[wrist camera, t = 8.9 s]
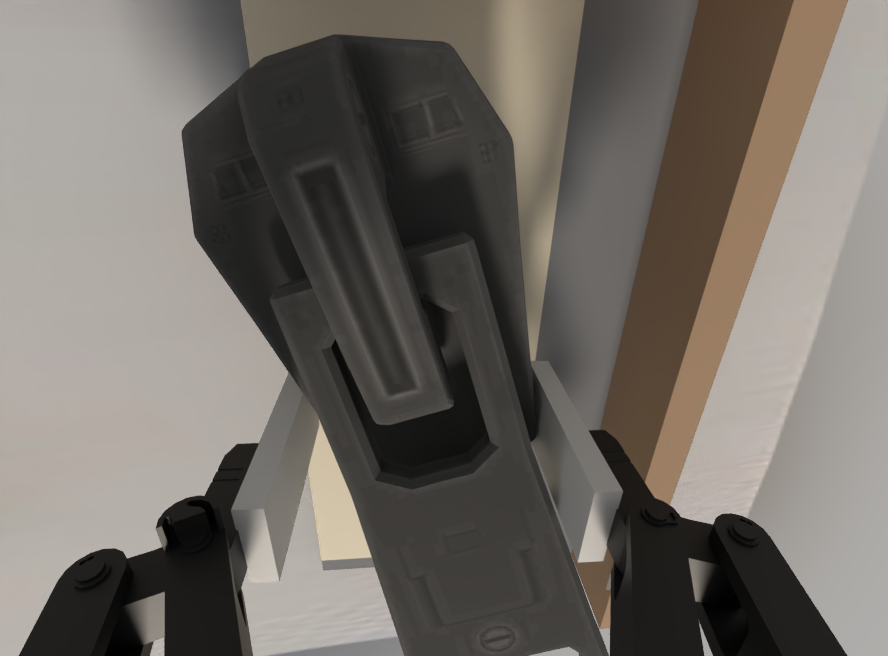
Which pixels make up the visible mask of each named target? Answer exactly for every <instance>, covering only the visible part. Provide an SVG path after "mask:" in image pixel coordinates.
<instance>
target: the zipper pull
mask: <svg viewBox="0 0 888 656" xmlns="http://www.w3.org/2000/svg"><path fill="white" fill-rule="evenodd" d="M182 141H183V149H184V157H185V165H186V173H187V181H188V189H189V197H190V205H191V212H192V220H193V228H194V235H195V238H196V239H197V241H198V243H199V244H200V245H201V247H202V248H203V250H204V251H205V252H206V254H207V255H208V257H209V258H210V260H211V261H212V262H213V264H214V265H215V267H216V268H217V269H218V271H219V272H220V274H221V275H222V277H223V278H224V279H225V281H226V282H227V284H228V285H229V287H230V288H231V289H232V291H233V292H234V294H235V295H236V296H237V298H238V299H239V301H240V302H241V304H242V305H243V306H244V308H245V309H246V311H247V312H248V313H249V315H250V316H251V318H252V319H253V321H254V322H255V323H256V325H257V326H258V328H259V329H260V331H261V332H262V334H263V335H264V337H265V338H266V339H267V341H268V342H269V344H270V345H271V347H272V348H273V350H274V351H275V353H276V354H277V356H278V357H279V359H280V360H281V361H282V363H283V364H284V366H285V367H286V369H287V370H288V372H289V373H290V375H291V376H292V378H293V379H294V381H295V382H296V383H297V385H298V386H299V388H300V389H301V391H302V392H303V394H304V395H305V397H306V398H307V400H308V401H309V403H310V404H311V405H312V407H313V408H314V410H315V411H316V413H317V416H318V418H319V420H320V423H321V425H322V428H323V430H324V432H325V435H326V437H327V439H328V442H329V444H330V447H331V449H332V451H333V454H334V456H335V459H336V461H337V463H338V466H339V468H340V471H341V473H342V475H343V478H344V480H345V482H346V485H347V487H348V490H349V492H350V494H351V497H352V500H353V503H354V506H355V509H356V512H357V515H358V518H359V521H360V524H361V527H362V530H363V533H364V536H365V539H366V542H367V545H368V548H369V551H370V554H371V557H372V560H373V563H374V566H375V569H376V572H377V575H378V578H379V581H380V584H381V587H382V590H383V593H384V596H385V599H386V602H387V605H388V608H389V611H390V614H391V617H392V620H393V623H394V626H395V629H396V632H397V635H398V638H399V641H400V644H401V647H402V650H403V653H404V656H529V655H532V654H537V653H542V652H546V651H551V650H555V649H560V648H564V647H570V648H572V649H574V650H576V651H577V652H579V656H609V655H608V652H607V649H606V647H605V644H604V641H603V639H602V636H601V634H600V631H599V628H598V626H597V624H596V622H595V619H594V617H593V614H592V611H591V608H590V606H589V603H588V600H587V597H586V595H585V592H584V589H583V586H582V584H581V581H580V578H579V575H578V573H577V570H576V567H575V564H574V562H573V559H572V556H571V553H570V551H569V548H568V545H567V542H566V540H565V537H564V534H563V531H562V529H561V526H560V523H559V520H558V518H557V515H556V512H555V509H554V507H553V504H552V501H551V498H550V496H549V493H548V490H547V487H546V485H545V482H544V479H543V476H542V474H541V471H540V468H539V465H538V463H537V460H536V457H535V454H534V452H533V449H532V446H531V442H532V441H533V440H534V439H535V438H536V434H537V428H536V416H535V405H534V393H533V382H532V370H531V359H530V347H529V336H528V324H527V313H526V302H525V290H524V279H523V267H522V256H521V244H520V230H519V215H518V201H517V187H516V173H515V158H514V145H513V140H512V137H511V135H510V133H509V131H508V130H507V128H506V127H505V125H504V124H503V122H502V121H501V119H500V118H499V116H498V114H497V113H496V111H495V110H494V108H493V107H492V105H491V104H490V102H489V101H488V99H487V98H486V96H485V95H484V93H483V92H482V90H481V89H480V87H479V86H478V84H477V82H476V81H475V79H474V78H473V76H472V75H471V73H470V72H469V70H468V69H467V67H466V66H465V64H464V63H463V61H462V60H461V58H460V57H459V55H458V53H457V52H456V50H455V49H454V48H453V47H452V46H451V45H450V44H448V43H445V42H442V41H426V40H411V39H396V38H382V37H369V36H356V35H343V34H333V35H330V36H327V37H324V38H321V39H318V40H315V41H312V42H309V43H306V44H303V45H300V46H297V47H294V48H291V49H287V50H284V51H281V52H278V53H275V54H272V55H269V56H266V57H263V58H262V59H261V60H260V61H259V62H257V63H256V64H255V65H254V66H252V67H251V68H250V69H249V70H247V71H246V72H245V73H244V74H243V75H242V76H241V77H240V78H239V79H238V80H237V81H236V82H234V83H233V84H232V85H231V86H230V87H229V88H228V89H226V90H225V91H224V92H223V93H222V94H221V95H219V96H218V97H217V98H216V99H215V100H214V101H212V102H211V103H210V104H209V105H208V106H207V107H205V108H204V109H203V110H202V111H201V112H200V113H199V114H197V115H196V116H195V117H194V118H193V119H192V120H190V121H189V122H188V123H187V124H186V125H185V127H184V128H183V130H182Z"/></svg>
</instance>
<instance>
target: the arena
mask: <svg viewBox="0 0 888 656" xmlns="http://www.w3.org/2000/svg"><path fill="white" fill-rule="evenodd" d="M240 2H241V9H242V16H243V23H244V30H245V37H246V44H247V50H248V57H249V64H250V68H251V67H252V66H254V65H255V64H256V63H257V62H259V61H260V60H261V59H262V58H263V57H266V56H269V55H272V54H275V53H278V52H281V51H284V50H287V49H291V48H294V47H297V46H300V45H303V44H306V43H309V42H312V41H315V40H318V39H321V38H324V37H327V36H330V35H333V34H343V35H356V36H369V37H382V38H396V39H411V40H426V41H442V42H445V43H448V44H450V45H451V46H452V47H453V48H454V49H455V50H456V52H457V53H458V55H459V57H460V58H461V60H462V61H463V63H464V64H465V66H466V67H467V69H468V70H469V72H470V73H471V75H472V76H473V78H474V79H475V81H476V82H477V84H478V86H479V87H480V89H481V90H482V92H483V93H484V95H485V96H486V98H487V99H488V101H489V102H490V104H491V105H492V107H493V108H494V110H495V111H496V113H497V114H498V116H499V118H500V119H501V121H502V122H503V124H504V125H505V127H506V128H507V130H508V131H509V133H510V135H511V137H512V140H513V145H514V158H515V173H516V187H517V201H518V215H519V230H520V244H521V256H522V267H523V279H524V290H525V302H526V313H527V324H528V336H529V347H530V359H531V361H549V363H550V365H551V367H552V368H553V370H554V372H555V374H556V375H557V377H558V379H559V380H560V382H561V384H562V386H563V387H564V389H565V391H566V393H567V394H568V396H569V398H570V400H571V401H572V403H573V405H574V407H575V408H576V410H577V412H578V414H579V415H580V417H581V419H582V420H583V422H584V424H585V426H586V427H587V429H588V430H606V431H607V432H608V433H609V434H611V435H612V436H613V437H614V438H616V439H617V440H618V442H619V443H620V445H621V446H622V448H623V450H624V451H625V454H627V456H628V457H629V459H630V460H631V463H633V465H634V467H635V468H636V470H637V471H638V473H639V474H640V476H641V477H642V479H643V481H644V482H645V484H646V485H647V487H648V488H649V490H650V491H651V493H652V494H653V496H654V498H656V499H659V500H661V501H664V502H665V503H667V504H668V505H670V503H671V500H672V498H673V495H674V492H675V489H676V486H677V483H678V481H679V478H680V475H681V472H682V469H683V466H684V464H685V461H686V458H687V455H688V452H689V449H690V447H691V444H692V441H693V438H694V435H695V432H696V430H697V427H698V424H699V421H700V418H701V415H702V413H703V410H704V407H705V404H706V401H707V398H708V396H709V393H710V390H711V387H712V384H713V381H714V379H715V376H716V373H717V370H718V367H719V364H720V362H721V359H722V356H723V353H724V350H725V347H726V345H727V342H728V339H729V336H730V333H731V330H732V328H733V325H734V322H735V319H736V316H737V314H738V311H739V308H740V305H741V302H742V299H743V297H744V294H745V291H746V288H747V285H748V282H749V280H750V277H751V274H752V271H753V268H754V265H755V263H756V260H757V257H758V254H759V251H760V248H761V246H762V243H763V240H764V237H765V234H766V231H767V229H768V226H769V223H770V220H771V217H772V214H773V212H774V209H775V206H776V203H777V200H778V197H779V195H780V192H781V189H782V186H783V183H784V180H785V178H786V175H787V172H788V169H789V166H790V163H791V161H792V158H793V155H794V152H795V149H796V146H797V144H798V141H799V138H800V135H801V132H802V129H803V127H804V124H805V121H806V118H807V115H808V113H809V110H810V107H811V104H812V101H813V98H814V96H815V93H816V90H817V87H818V84H819V81H820V79H821V76H822V73H823V70H824V67H825V64H826V62H827V59H828V56H829V53H830V50H831V47H832V45H833V42H834V39H835V36H836V33H837V30H838V28H839V25H840V22H841V19H842V16H843V13H844V11H845V8H846V5H847V2H848V0H240ZM319 424H320V425H319V429H318V433H317V436H316V440H315V444H314V448H313V452H312V456H311V460H310V464H309V468H308V471H309V478H310V485H311V492H312V499H313V506H314V513H315V520H316V527H317V534H318V540H319V547H320V554H321V561H322V565H323V570H338V569H353V568H368V567H375V566H374V563H373V560H372V557H371V554H370V551H369V548H368V545H367V542H366V539H365V536H364V533H363V530H362V527H361V524H360V521H359V518H358V515H357V512H356V509H355V506H354V503H353V500H352V497H351V494H350V492H349V490H348V487H347V485H346V482H345V480H344V478H343V475H342V473H341V471H340V468H339V466H338V463H337V461H336V459H335V456H334V454H333V451H332V449H331V447H330V444H329V442H328V439H327V437H326V435H325V432H324V430H323V428H322V425H321V423H320V420H319ZM531 446H532V443H531ZM532 449H533V452H534V454H535V457H536V460H537V463H538V465H539V468H540V471H541V474H542V476H543V479H544V482H545V485H546V487H547V490H548V493H549V496H550V498H551V501H552V504H553V507H554V509H555V512H556V515H557V518H558V520H559V523H560V526H561V529H562V531H563V534H564V537H565V540H566V542H567V545H568V548H569V551H570V553H571V555H572V558H573V560H574V563H575V566H576V568H577V571H578V573H579V576H580V579H581V581H582V584H583V586H584V589H585V592H586V594H587V597H588V599H589V602H590V605H591V607H592V610H593V612H594V615H595V617H596V620H597V623H598V625H599V628H600V629H603V628H610V607H611V588H610V590H607V589H606V586H607V582H608V579H609V576H610V572H611V569H612V566H613V562H614V560H613V558H612V556H611V554H610V552H609V550H608V547H607V550H606V554H605V557H604V561H596V562H580V563H578V562H577V560H576V557H575V555H574V552H573V549H572V547H571V544H570V542H569V539H568V536H567V534H566V531H565V529H564V526H563V523H562V521H561V518H560V516H559V513H558V510H557V508H556V505H555V503H554V500H553V498H552V495H551V492H550V490H549V487H548V485H547V482H546V479H545V477H544V474H543V472H542V469H541V466H540V464H539V461H538V459H537V456H536V453H535V451H534V448H533V446H532Z"/></svg>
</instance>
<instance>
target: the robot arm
mask: <svg viewBox="0 0 888 656" xmlns="http://www.w3.org/2000/svg"><path fill="white" fill-rule="evenodd" d="M531 370H532V382H533V393H534V405H535V416H536V428H537V434H536V438H535V439H534V440H533V441H532V442H531V443H532V446H533V448H534V451H535V453H536V456H537V459H538V461H539V464H540V466H541V469H542V472H543V474H544V477H545V479H546V482H547V485H548V487H549V490H550V492H551V495H552V498H553V500H554V503H555V505H556V508H557V510H558V513H559V516H560V518H561V521H562V523H563V526H564V529H565V531H566V534H567V536H568V539H569V542H570V544H571V547H572V549H573V552H574V555H575V557H576V560H577V562H578V563H580V562H596V561H604V557H605V554H606V550H607V547H608V550H609V552H610V554H611V556H612V558H613V560H614V562H613V566H612V569H611V572H610V576H609V579H608V582H607V586H606V589H607V590H610V588H611V607H610V656H704V651H703V645H702V639H701V632H700V627H699V622H700V624H701V627H702V629H703V632H704V634H705V637H706V639H707V641H708V644H709V647H710V649H711V652H712V654H713V656H847V654H846V653H845V651H844V650H843V648H842V647H841V645H840V644H839V642H838V641H837V639H836V638H835V636H834V634H833V633H832V632H831V630H830V628H829V627H828V625H827V624H826V622H825V621H824V619H823V618H822V616H821V615H820V613H819V611H818V610H817V609H816V607H815V605H814V604H813V602H812V601H811V599H810V598H809V596H808V595H807V593H806V591H805V590H804V588H803V587H802V585H801V584H800V582H799V581H798V579H797V578H796V576H795V574H794V573H793V571H792V570H791V568H790V567H789V565H788V564H787V562H786V561H785V559H784V557H783V556H782V555H781V553H780V551H779V550H778V549H777V547H776V545H775V544H774V542H773V541H772V539H771V537H770V536H769V535H768V534H767V533H766V532H765V530H764V529H763V528H761V527H760V526H759V525H757V524H756V523H755V522H753V521H751V520H749V519H747V518H745V517H743V516H740V515H736V514H731V513H730V514H721V515H720V516H718V517H716V519H715V522H714V524H713V525H712V524H707V523H703V522H698V521H693V520H689V519H685V518H682V517H680V515H679V514H678V513H677V512H676V510H675V509H674V508H673V507H671V506H670V505H668V504H667V503H665V502H664V501H661V500H659V499H656V498H654V496H653V494H652V493H651V491H650V490H649V488H648V487H647V485H646V484H645V482H644V481H643V479H642V477H641V476H640V474H639V473H638V471H637V470H636V468H635V467H634V465H633V463H631V460H630V459H629V457H628V456H627V454H625V451H624V450H623V448H622V446H621V445H620V443H619V442H618V440H617V439H616V438H614V437H613V436H612V435H611V434H609V433H608V432H607V431H606V430H588V429H587V427H586V426H585V424H584V422H583V420H582V419H581V417H580V415H579V414H578V412H577V410H576V408H575V407H574V405H573V403H572V401H571V400H570V398H569V396H568V394H567V393H566V391H565V389H564V387H563V386H562V384H561V382H560V380H559V379H558V377H557V375H556V374H555V372H554V370H553V368H552V367H551V365H550V363H549V361H531ZM319 425H320V424H319V418H318V416H317V413H316V411H315V410H314V408H313V407H312V405H311V404H310V403H309V401H308V400H307V398H306V397H305V395H304V394H303V392H302V391H301V389H300V388H299V386H298V385H297V383H296V382H295V381H294V379H293V378H292V376H291V375H290V373H288V376H287V378H286V380H285V383H284V385H283V388H282V390H281V392H280V395H279V397H278V399H277V402H276V404H275V407H274V409H273V411H272V414H271V416H270V418H269V421H268V423H267V426H266V428H265V430H264V433H263V435H262V437H261V440H260V442H259V443H251V444H237V445H236V446H235V447H234V448H233V449H232V450H230V451H229V452H228V453H227V454H226V455H225V456H224V458H223V460H222V462H221V464H220V466H219V468H218V472H216V474H215V476H214V478H213V482H212V483H211V484H210V486H209V488H208V490H207V492H206V494H205V496H194V497H189V498H186V499H184V500H181V501H179V502H177V503H175V504H174V505H172V506H171V507H170V508H168V509H167V510H166V511H165V512H164V513H163V514H162V516H161V517H160V518H159V519H158V522H157V526H156V531H157V533H158V536H159V539H160V541H161V544H162V547H161V548H159V549H156V550H154V551H150V552H147V553H144V554H141V555H138V556H134V557H131V558H128V559H127V558H126V556H125V554H124V553H123V552H122V551H120V550H117V549H102V550H99V551H96V552H93V553H90V554H88V555H86V556H85V557H83V558H81V559H79V560H77V561H76V562H75V563H74V564H73V565H71V566H70V567H69V568H68V569H67V570H66V571H65V572H64V573H63V575H62V576H61V577H60V579H59V580H58V582H57V584H56V585H55V587H54V589H53V591H52V593H51V595H50V597H49V599H48V601H47V603H46V605H45V607H44V609H43V610H42V612H41V614H40V616H39V618H38V620H37V622H36V624H35V626H34V628H33V630H32V632H31V633H30V635H29V637H28V639H27V641H26V643H25V645H24V647H23V649H22V651H21V653H20V655H19V656H150V652H151V649H152V645H153V642H154V641H155V640H158V639H160V638H163V637H165V656H253V653H252V647H251V640H250V634H249V628H248V621H247V615H246V609H245V602H244V596H243V592H242V589H241V586H242V583H243V580H244V577H245V574H246V571H247V574H248V578H249V581H250V583H265V582H279V581H280V577H281V573H282V569H283V565H284V562H285V558H286V554H287V550H288V546H289V542H290V538H291V534H292V530H293V526H294V522H295V519H296V515H297V511H298V507H299V503H300V499H301V495H302V491H303V487H304V483H305V479H306V476H307V472H308V468H309V464H310V460H311V456H312V452H313V448H314V444H315V440H316V436H317V433H318V429H319ZM698 619H699V620H698Z"/></svg>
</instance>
